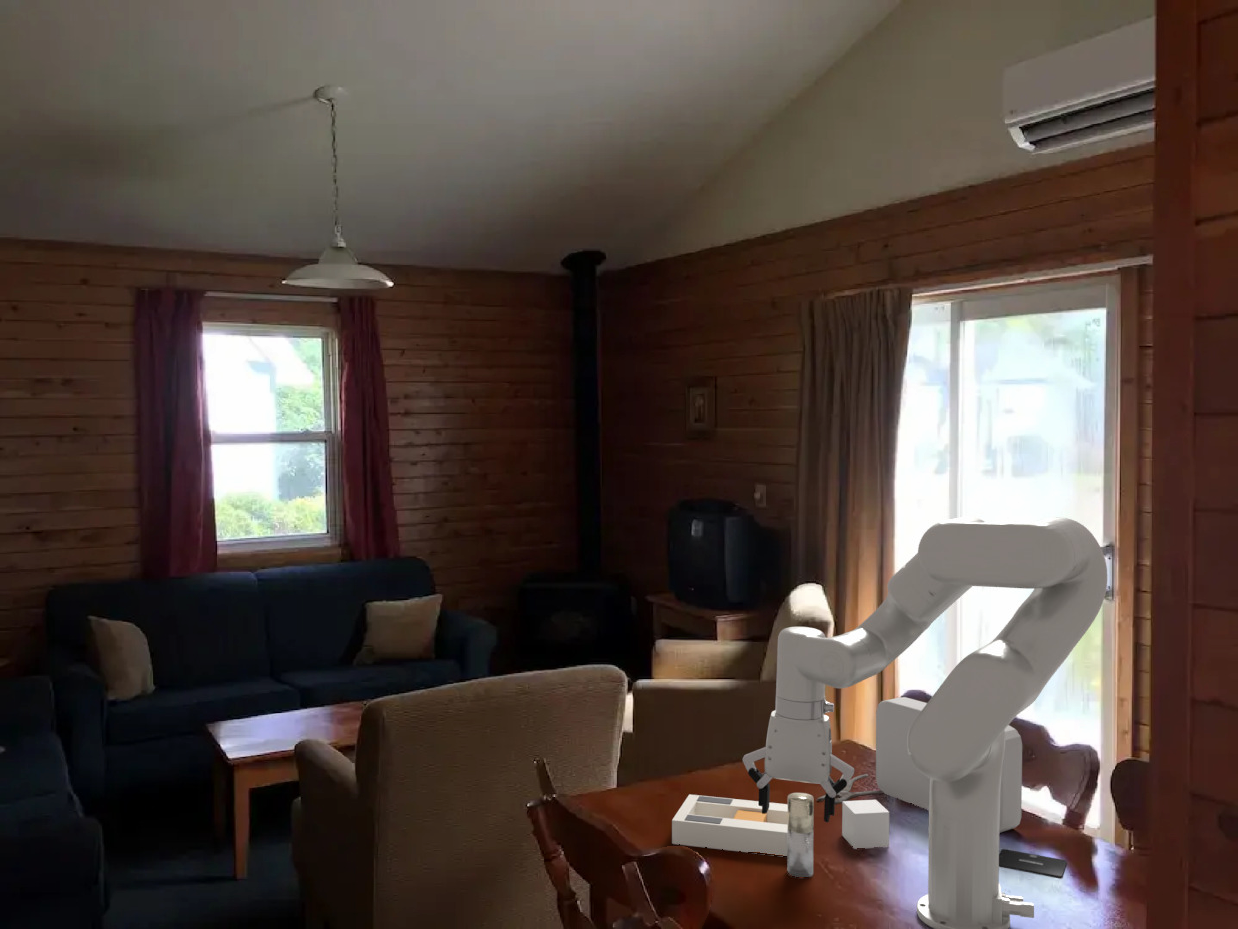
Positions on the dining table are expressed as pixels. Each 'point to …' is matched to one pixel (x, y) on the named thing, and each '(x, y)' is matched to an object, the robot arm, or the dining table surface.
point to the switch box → (730, 825)
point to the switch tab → (751, 816)
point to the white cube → (865, 824)
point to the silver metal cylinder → (800, 835)
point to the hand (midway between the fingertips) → (796, 815)
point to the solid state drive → (1032, 863)
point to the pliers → (847, 795)
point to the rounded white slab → (913, 786)
